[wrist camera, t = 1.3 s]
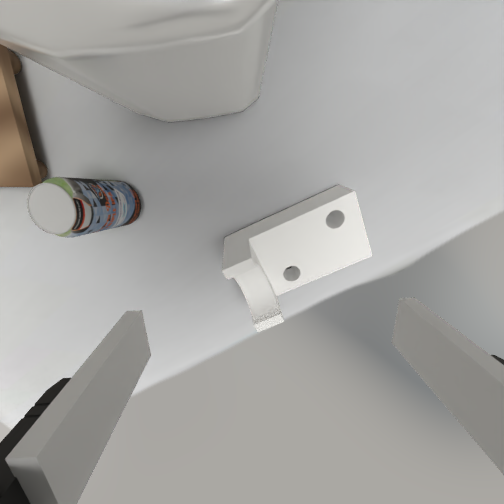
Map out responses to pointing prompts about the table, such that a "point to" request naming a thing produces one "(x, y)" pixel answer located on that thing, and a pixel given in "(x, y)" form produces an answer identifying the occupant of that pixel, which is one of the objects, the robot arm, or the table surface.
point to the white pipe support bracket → (295, 250)
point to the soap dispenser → (150, 50)
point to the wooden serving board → (15, 131)
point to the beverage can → (82, 205)
